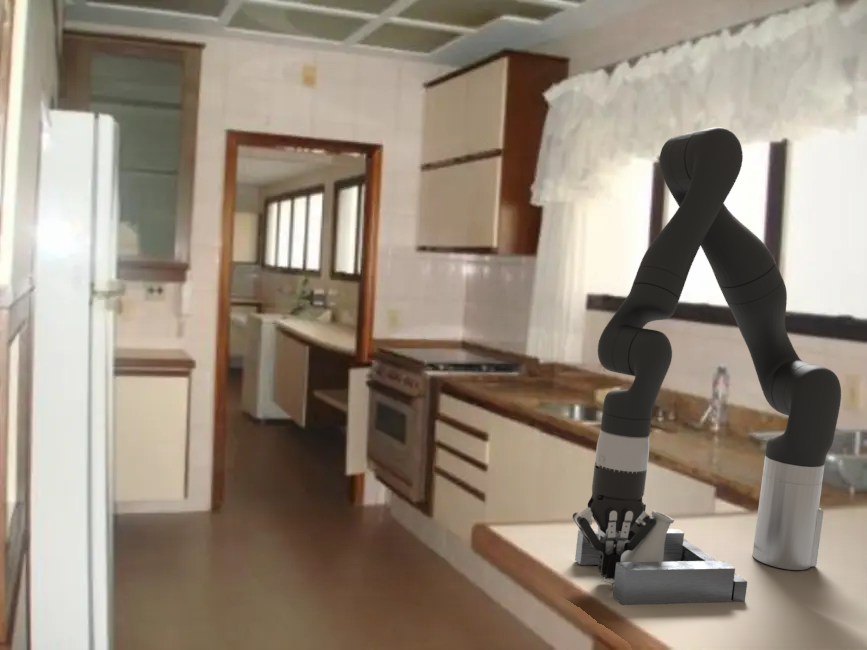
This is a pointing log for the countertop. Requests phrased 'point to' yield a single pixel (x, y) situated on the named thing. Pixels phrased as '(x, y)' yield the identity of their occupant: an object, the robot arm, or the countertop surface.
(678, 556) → the vise jaw sliding
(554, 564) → the countertop surface
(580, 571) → the countertop surface
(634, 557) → the flask
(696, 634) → the countertop surface
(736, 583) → the vise fixed
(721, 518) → the countertop surface
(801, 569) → the robot arm
